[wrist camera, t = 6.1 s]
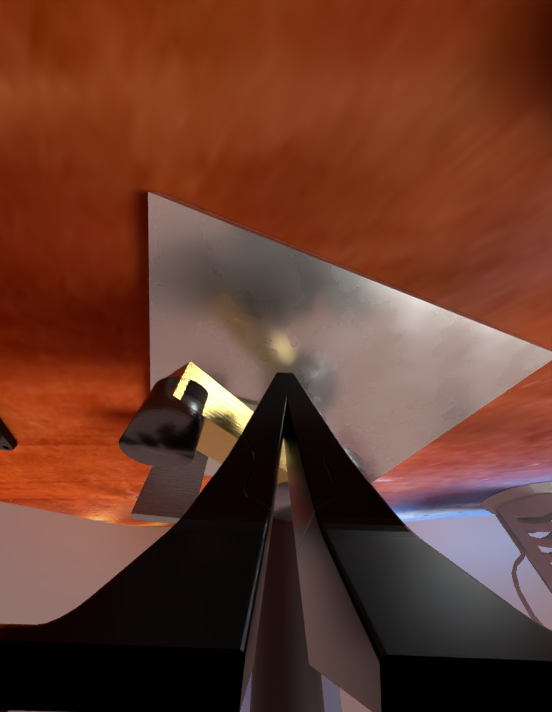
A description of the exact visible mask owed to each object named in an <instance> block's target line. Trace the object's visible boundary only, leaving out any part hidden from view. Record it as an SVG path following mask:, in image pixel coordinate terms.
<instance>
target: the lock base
mask: <svg viewBox="0 0 552 712" xmlns="http://www.w3.org/2000/svg"><path fill="white" fill-rule="evenodd" d="M148 232H149V315H150V391H151V389H152V388H153V386H154V385H155V383H156V382H157V381H159V380H160V379H163V378H166V377H167V376H169V375H170V374H172V373H173V372H175V371H176V370H178V369H179V368H181V367H182V366H184V365H185V364H187V363H188V362H189V361H191V362H192V363H193V364H195V365H196V366H197V367H198V368H200V369H201V370H202V371H203V372H205V373H206V374H207V375H208V376H210V377H211V378H212V379H213V380H214V381H216V382H217V383H218V384H219V385H221V386H222V387H223V388H224V389H226V390H227V391H228V392H229V393H231V394H232V395H233V396H234V397H235V398H237V399H238V400H239V401H240V402H242V403H243V404H244V405H245V406H247V407H248V408H249V409H250V410H252V411H253V412H254V411H255V409H256V407H257V406H258V404H259V402H260V400H261V399H262V397H263V395H264V394H265V392H266V390H267V388H268V387H269V385H270V383H271V381H272V380H273V378H274V376H275V375H276V373H277V372H283V373H294V375H295V376H296V378H297V379H298V381H299V382H300V384H301V385H302V387H303V388H304V390H305V391H306V393H307V394H308V396H309V397H310V399H311V400H312V402H313V403H314V405H315V406H316V408H317V409H318V411H319V412H320V414H321V415H322V417H323V418H324V420H325V421H326V423H327V424H328V426H329V427H330V429H331V430H332V432H333V433H334V435H335V437H336V438H337V439H338V441H339V442H340V444H341V445H342V447H343V448H346V449H349V450H351V451H353V452H355V453H356V454H358V455H359V456H360V457H361V458H362V460H363V461H364V464H365V467H366V470H367V473H368V476H369V479H370V482H371V483H372V482H373V481H375V480H376V479H378V478H379V477H381V476H382V475H384V474H385V473H387V472H388V471H390V470H391V469H392V468H394V467H395V466H397V465H398V464H400V463H401V462H403V461H404V460H406V459H407V458H409V457H410V456H412V455H413V454H414V453H416V452H417V451H419V450H420V449H422V448H423V447H425V446H426V445H428V444H429V443H431V442H432V441H434V440H435V439H436V438H438V437H439V436H441V435H442V434H444V433H445V432H447V431H448V430H450V429H451V428H453V427H454V426H456V425H457V424H458V423H460V422H461V421H463V420H464V419H466V418H467V417H469V416H470V415H472V414H473V413H475V412H476V411H478V410H479V409H480V408H482V407H483V406H485V405H486V404H488V403H489V402H491V401H492V400H494V399H495V398H497V397H498V396H500V395H501V394H502V393H504V392H505V391H507V390H508V389H510V388H511V387H513V386H514V385H516V384H517V383H519V382H520V381H522V380H523V379H524V378H526V377H527V376H529V375H530V374H532V373H533V372H535V371H536V370H538V369H539V368H541V367H542V366H544V365H545V364H546V363H548V362H549V361H551V360H552V350H550V349H548V348H547V347H545V346H543V345H541V344H539V343H536V342H534V341H531V340H529V339H526V338H524V337H521V336H519V335H516V334H514V333H511V332H509V331H506V330H504V329H501V328H499V327H496V326H494V325H491V324H489V323H486V322H484V321H481V320H479V319H476V318H474V317H471V316H469V315H466V314H464V313H461V312H459V311H456V310H454V309H451V308H449V307H446V306H444V305H441V304H439V303H436V302H434V301H431V300H429V299H426V298H424V297H421V296H419V295H417V294H414V293H412V292H409V291H407V290H404V289H402V288H399V287H397V286H394V285H392V284H389V283H387V282H384V281H382V280H379V279H377V278H374V277H372V276H369V275H367V274H364V273H362V272H359V271H357V270H354V269H352V268H349V267H347V266H344V265H342V264H339V263H337V262H334V261H332V260H329V259H327V258H324V257H322V256H319V255H317V254H314V253H312V252H309V251H307V250H304V249H302V248H299V247H297V246H294V245H292V244H289V243H287V242H284V241H282V240H279V239H277V238H274V237H272V236H269V235H267V234H264V233H262V232H259V231H257V230H254V229H252V228H249V227H247V226H244V225H242V224H239V223H237V222H234V221H232V220H229V219H227V218H224V217H222V216H219V215H217V214H214V213H212V212H209V211H207V210H204V209H202V208H199V207H197V206H194V205H192V204H189V203H187V202H184V201H182V200H179V199H177V198H174V197H172V196H169V195H167V194H164V193H162V192H148ZM221 465H222V464H221V463H219V462H217V461H215V460H213V459H212V458H210V457H208V456H206V455H204V454H203V453H201V452H199V451H197V450H196V452H195V455H194V458H193V460H192V461H191V462H190V463H188V464H186V465H184V466H180V467H173V468H164V467H155V466H151V467H152V468H151V470H150V473H149V475H148V477H147V479H146V482H145V484H144V486H143V488H142V490H141V493H140V495H139V497H138V499H137V501H136V504H135V506H134V508H133V510H132V513H131V515H132V520H143V521H153V522H164V523H174V524H176V523H177V522H178V521H179V520H180V518H181V517H182V516H183V515H184V514H185V512H186V511H187V510H188V509H189V507H190V506H191V505H192V503H193V502H194V501H195V499H196V498H197V497H198V495H199V492H200V488H201V484H202V480H203V476H204V475H208V476H214V474H215V473H216V472H217V470H218V469H219V467H220V466H221Z"/></svg>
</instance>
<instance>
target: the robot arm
mask: <svg viewBox="0 0 552 712" xmlns="http://www.w3.org/2000/svg"><path fill="white" fill-rule="evenodd" d="M283 440H284V449H285V457H286V466H287V475H288V484H289V492H290V501H291V510H292V519H293V528H294V536H295V545H296V552H297V563H298V572H299V581H300V589H301V598H302V607H303V616H304V625H305V633H306V642H307V651H308V660H309V665H310V666H312V667H313V668H314V669H316V670H317V671H318V672H320V673H321V674H322V675H324V676H325V677H326V678H328V679H329V680H330V681H332V682H333V683H334V684H336V685H337V686H338V687H339V688H340V696H341V704H342V712H552V631H551V630H549V629H548V628H546V627H544V626H542V625H541V624H539V623H537V622H535V621H533V620H532V619H530V618H529V617H528V616H526V615H525V614H523V613H522V612H520V611H518V610H517V609H516V608H514V607H513V606H512V605H510V604H509V603H508V602H506V601H505V600H503V599H502V598H501V597H499V596H498V595H497V594H495V593H494V592H493V591H491V590H490V589H488V588H487V587H486V586H484V585H483V584H482V583H480V582H479V581H478V580H476V579H475V578H473V577H472V576H471V575H469V574H468V573H467V572H465V571H464V570H462V569H461V568H460V567H458V566H457V565H456V564H454V563H453V562H452V561H450V560H449V559H448V558H446V557H445V556H443V555H442V554H441V553H439V552H438V551H437V550H435V549H434V548H433V547H431V546H430V545H428V544H427V543H426V542H424V541H423V540H422V539H421V538H419V537H418V536H417V535H416V534H415V533H413V532H412V531H411V530H410V529H409V528H408V527H407V526H406V525H405V524H404V523H403V522H402V521H401V520H400V518H399V517H398V516H397V515H396V514H395V513H394V511H393V510H392V509H391V508H390V507H389V505H388V504H387V503H386V502H385V500H384V499H383V498H382V497H381V496H380V494H379V493H378V492H377V491H376V489H375V488H374V487H373V486H372V485H371V483H370V482H369V481H368V480H367V479H366V477H365V476H364V475H363V474H362V472H361V471H360V470H359V469H358V467H357V466H356V465H355V463H354V462H353V461H352V460H351V458H350V457H349V455H348V454H347V453H346V451H345V450H344V448H343V447H342V445H341V444H340V442H339V441H338V439H337V438H336V437H335V435H334V433H333V432H332V430H331V429H330V427H329V426H328V424H327V423H326V421H325V420H324V418H323V417H322V415H321V414H320V412H319V411H318V409H317V408H316V406H315V405H314V403H313V402H312V400H311V399H310V397H309V396H308V394H307V393H306V391H305V390H304V388H303V387H302V385H301V384H300V382H299V381H298V379H297V378H296V376H295V375H294V373H283V372H277V373H276V375H275V376H274V378H273V380H272V381H271V383H270V385H269V387H268V388H267V390H266V392H265V394H264V395H263V397H262V399H261V400H260V402H259V404H258V406H257V407H256V409H255V411H254V413H253V414H252V416H251V418H250V419H249V421H248V423H247V425H246V426H245V428H244V430H243V432H242V434H241V435H240V437H239V438H238V440H237V442H236V443H235V445H234V447H233V448H232V450H231V451H230V453H229V455H228V456H227V458H226V459H225V460H224V462H223V463H222V465H221V466H220V467H219V469H218V470H217V472H216V473H215V474H214V476H213V477H212V478H211V480H210V481H209V482H208V484H207V485H206V486H205V487H204V489H203V490H202V491H201V493H200V494H199V495H198V497H197V498H196V499H195V501H194V502H193V503H192V505H191V506H190V507H189V509H188V510H187V511H186V512H185V514H184V515H183V516H182V517H181V518H180V520H179V521H178V522H177V523H176V524H175V525H174V526H173V527H172V528H171V529H170V530H169V531H168V532H167V533H166V534H164V535H163V536H162V537H161V538H160V539H158V540H157V541H156V542H155V543H154V544H153V545H151V546H150V547H149V548H148V549H147V550H146V551H144V552H143V553H142V554H141V555H140V556H139V557H137V558H136V559H135V560H134V561H132V562H131V563H130V564H129V565H128V566H127V567H125V568H124V569H123V570H122V571H121V572H119V573H118V574H117V575H116V576H115V577H114V578H112V579H111V580H110V581H109V582H108V583H106V584H105V585H104V586H103V587H102V588H101V589H99V590H98V591H97V592H96V593H95V594H94V595H92V596H91V597H90V598H89V599H87V600H86V601H85V602H84V603H82V604H81V605H80V606H78V607H77V608H75V609H74V610H72V611H70V612H69V613H67V614H65V615H64V616H62V617H60V618H58V619H56V620H53V621H51V622H48V623H44V624H38V625H27V624H0V712H240V709H241V706H242V702H243V699H244V695H245V692H246V689H247V685H248V681H249V678H250V675H251V671H252V668H253V665H254V659H255V650H256V642H257V635H258V627H259V620H260V612H261V604H262V597H263V589H264V581H265V574H266V566H267V558H268V551H269V543H270V535H271V528H272V520H273V513H274V505H275V497H276V490H277V482H278V474H279V467H280V459H281V451H282V444H283ZM17 445H18V444H17V443H16V441H15V440H14V439H13V437H12V436H11V435H10V433H9V432H8V430H7V429H6V428H5V426H4V425H3V424H2V422H1V421H0V449H1V450H9V451H11V450H13V449H14V448H15V447H16V446H17Z"/></svg>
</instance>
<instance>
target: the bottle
mask: <svg viewBox="0 0 552 712" xmlns="http://www.w3.org/2000/svg"><path fill="white" fill-rule="evenodd" d="M250 712H325V711H324V700H323V690H322V679H321V673H320V672H318V671H317V670H316V669H314V668H313V667H312V666H310V665H309V660H308V651H307V642H306V633H305V625H304V616H303V607H302V598H301V589H300V581H299V572H298V563H297V552H296V545H295V536H294V528H293V521H287V520H281V519H277V518H273V520H272V528H271V535H270V543H269V551H268V558H267V566H266V574H265V581H264V589H263V597H262V604H261V612H260V620H259V627H258V635H257V642H256V650H255V659H254V665H253V668H252V680H251V702H250Z"/></svg>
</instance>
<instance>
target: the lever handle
mask: <svg viewBox="0 0 552 712" xmlns="http://www.w3.org/2000/svg"><path fill="white" fill-rule="evenodd" d="M253 413H254V412H253V411H252V410H250V409H249V408H248V407H247V406H245V405H244V404H243V403H242V402H240V401H239V400H238V399H237V398H235V397H234V396H233V395H232V394H231V393H229V392H228V391H227V390H226V389H224V388H223V387H222V386H221V385H219V384H218V383H217V382H216V381H214V380H213V379H212V378H211V377H210V376H208V375H207V374H206V373H205V372H203V371H202V370H201V369H200V368H198V367H197V366H196V365H195V364H193V363H192V362H191V361H189V362H188V363H187V364H185V365H184V366H182V367H181V368H179V369H178V370H176V371H175V372H173V373H172V374H170V375H169V376H167V377H166V378H163V379H160V380H159V381H157V382H156V383H155V385H154V386H153V388H152V389H151V391H150V393H149V394H148V396H147V397H146V399H145V400H144V402H143V404H142V405H141V407H140V408H139V410H138V411H137V413H136V415H135V416H134V418H133V419H132V421H131V422H130V424H129V426H128V427H127V429H126V430H125V432H124V433H123V435H122V437H121V438H120V440H119V446H120V449H121V450H122V451H123V452H124V453H125V454H126V455H127V456H129V457H130V458H132V459H134V460H136V461H138V462H141V463H143V464H147V465H150V466H155V467H164V468H173V467H180V466H184V465H186V464H188V463H190V462H191V461H192V460H193V458H194V455H195V452H196V450H197V451H199V452H201V453H203V454H204V455H206V456H208V457H210V458H212V459H213V460H215V461H217V462H219V463H221V464H222V463H223V462H224V460H225V459H226V458H227V456H228V455H229V453H230V451H231V450H232V448H233V447H234V445H235V443H236V442H237V440H238V438H239V437H240V435H241V434H242V432H243V430H244V428H245V426H246V425H247V423H248V421H249V419H250V418H251V416H252V414H253ZM344 450H345V451H346V453H347V454H348V455H349V457H350V458H351V460H352V461H353V462H354V463H355V465H356V466H357V467H358V469H359V470H360V471H361V472H362V474H363V475H364V476H365V477H366V479H367V480H368V481H369V482H370V479H369V476H368V473H367V470H366V467H365V464H364V461H363V460H362V458H361V457H360V456H359V455H358V454H356V453H355V452H353V451H351V450H349V449H346V448H344ZM370 483H371V482H370ZM273 518H277V519H281V520H287V521H293V519H292V510H291V501H290V492H289V484H288V475H287V466H286V457H285V449H284V440H283V444H282V451H281V459H280V467H279V474H278V482H277V490H276V497H275V505H274V513H273Z"/></svg>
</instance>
